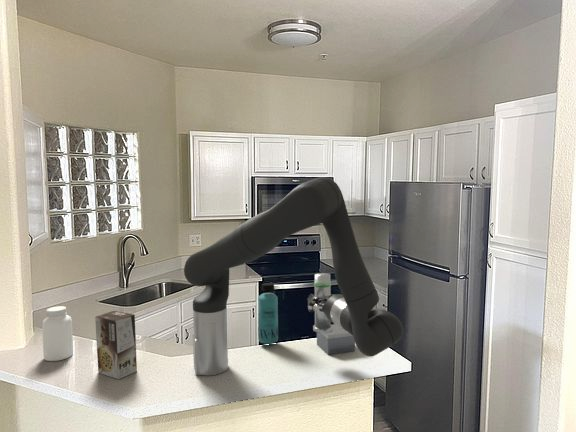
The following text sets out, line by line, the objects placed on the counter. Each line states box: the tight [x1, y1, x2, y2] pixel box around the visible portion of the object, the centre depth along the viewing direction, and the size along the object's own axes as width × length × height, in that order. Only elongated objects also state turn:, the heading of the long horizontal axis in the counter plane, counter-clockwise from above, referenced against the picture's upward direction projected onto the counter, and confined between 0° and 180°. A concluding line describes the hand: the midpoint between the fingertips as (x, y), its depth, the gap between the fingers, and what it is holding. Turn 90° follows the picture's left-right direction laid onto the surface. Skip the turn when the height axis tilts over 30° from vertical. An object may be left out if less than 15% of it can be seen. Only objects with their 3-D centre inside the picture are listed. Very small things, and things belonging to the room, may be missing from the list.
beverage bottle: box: [257, 282, 279, 345], centre depth 134 cm, size 6×7×20 cm
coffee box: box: [94, 310, 138, 380], centre depth 115 cm, size 9×6×16 cm
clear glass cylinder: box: [312, 272, 333, 334], centre depth 119 cm, size 6×6×16 cm
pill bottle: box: [41, 305, 74, 362], centre depth 127 cm, size 8×8×15 cm
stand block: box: [316, 323, 356, 356], centre depth 131 cm, size 9×9×6 cm
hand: (318, 296), depth 121 cm, fingers closed on clear glass cylinder, 4 cm apart
